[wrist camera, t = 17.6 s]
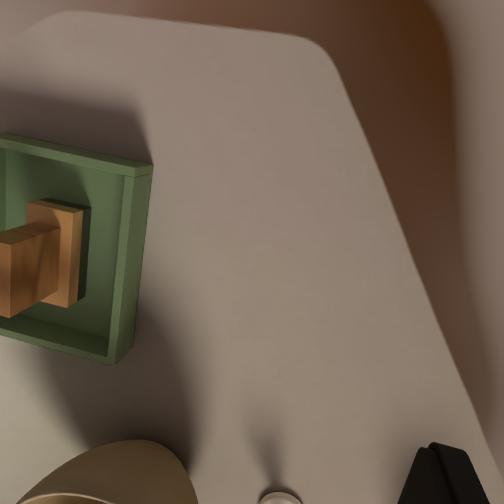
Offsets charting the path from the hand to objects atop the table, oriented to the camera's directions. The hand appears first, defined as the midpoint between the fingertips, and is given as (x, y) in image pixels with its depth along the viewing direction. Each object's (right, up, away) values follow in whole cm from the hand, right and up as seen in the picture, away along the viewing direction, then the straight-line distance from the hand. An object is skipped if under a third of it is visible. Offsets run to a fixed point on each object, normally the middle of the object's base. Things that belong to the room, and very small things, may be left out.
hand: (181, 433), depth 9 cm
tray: (-16, +4, +31) cm, 36 cm away
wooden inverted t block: (-16, +4, +31) cm, 35 cm away
